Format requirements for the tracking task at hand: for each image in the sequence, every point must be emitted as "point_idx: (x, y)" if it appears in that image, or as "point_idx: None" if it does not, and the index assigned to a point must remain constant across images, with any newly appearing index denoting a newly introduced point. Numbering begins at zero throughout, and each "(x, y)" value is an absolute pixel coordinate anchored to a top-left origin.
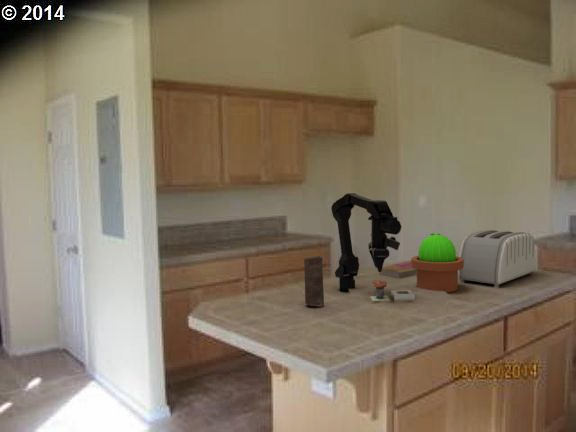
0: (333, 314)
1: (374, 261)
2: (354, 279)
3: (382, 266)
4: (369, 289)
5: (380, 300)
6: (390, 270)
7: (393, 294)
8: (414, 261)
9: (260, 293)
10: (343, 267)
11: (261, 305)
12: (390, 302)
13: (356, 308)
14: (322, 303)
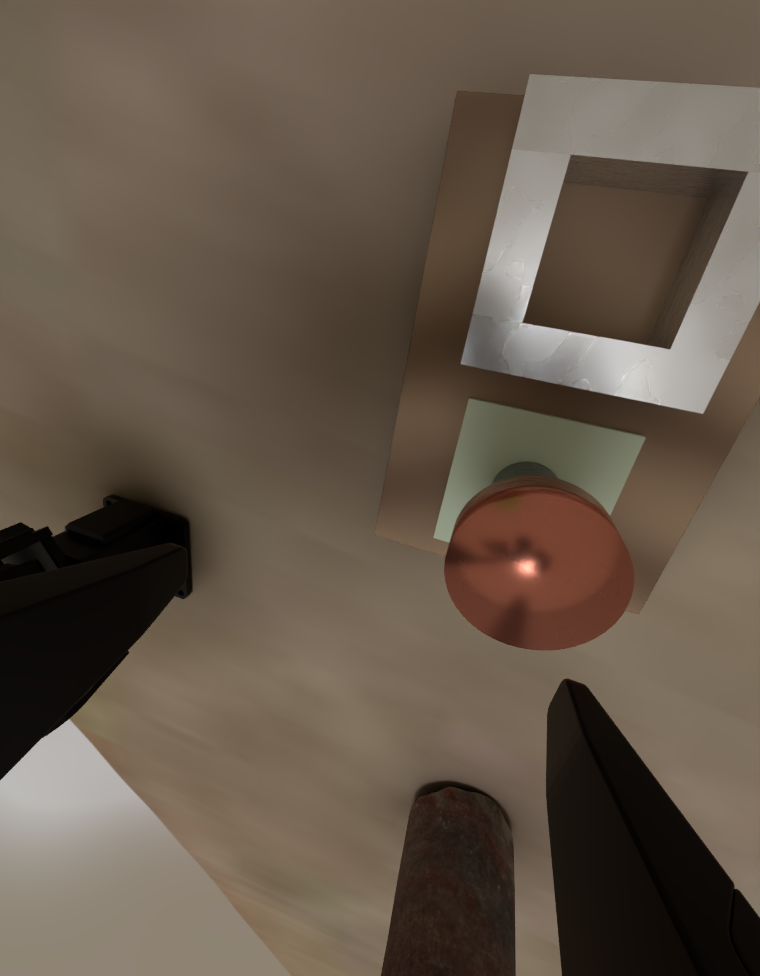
0: None
1: (95, 668)
2: (71, 525)
3: (679, 814)
4: (125, 397)
5: None
6: None
7: (635, 399)
8: None
9: (200, 848)
10: (54, 728)
11: (385, 931)
12: (702, 457)
13: (617, 688)
14: (500, 827)
